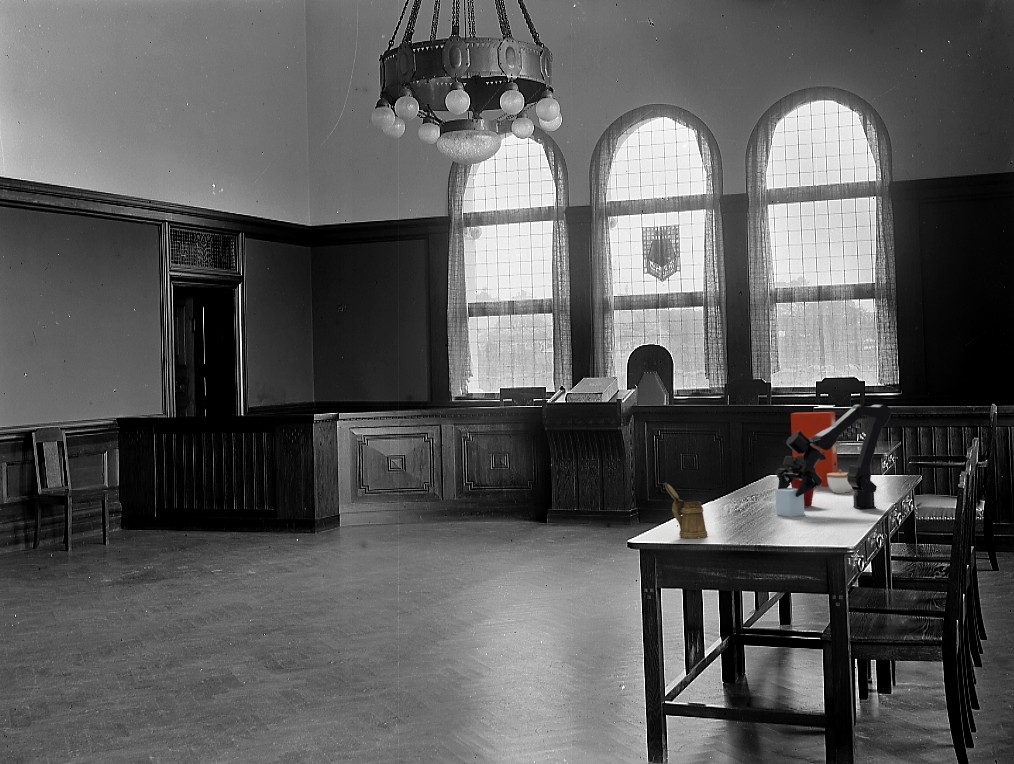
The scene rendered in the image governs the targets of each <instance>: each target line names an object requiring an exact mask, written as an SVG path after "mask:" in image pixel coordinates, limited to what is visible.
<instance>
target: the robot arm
mask: <svg viewBox="0 0 1014 764" xmlns="http://www.w3.org/2000/svg"><path fill="white" fill-rule="evenodd" d="M891 415H892V410H891V408H890V407H889V406H888V405H885V404H873V405H863V404H854V405H853V406H852V407H851V408H850V409H849V410H848V411H847V412H846V413H844V414H843V415H842V416H841V417H840V418H839V419H837V420H835V423H834V424H833V425H832V426H831V427H829V428H828V429H825V430H823V431H821V432H819V433H818V434H816V435H815V436H814V437H813V438H810V439H808V438H806V437H805V436H804V435H803V433H802V432H801V431H797V432H796V433H795V434H793V435H792V434H791V436H789V437H788V438H787V440H786V442H785V444H786V445H787V446H788V447H789V448H790V449H791V450H792V449H793V450H794V451H795V452H796V453H797V454H800V453H801V454H803V453H804V454H803V455H802V456H797V457H793V456H790V455H789V456H788V455H786V456H785V457H784V460H783V462H782V463H783V464H782V465H783V466H787V467H789V469H788V468H787V469H786V468H777V469H776V470H775V472H774V474H775V476H776V477H777V479H778V486H777V489H785V488H790V486H791V482H792V481H793V479H799V480H802V483H801V485H800V487H799V489H798V490H797V492H796V497H799V496H800V495H802V494H804V493H805V492H807V491H809V490H811V489H813V488H814V489H815V488H817V487H821V486H820V485H821V483H822V479H821V478H820V476H819V475H818V474H817V473H816V472H815V470H816V469H815V468H814V467H815V465H816V463H817V462H818V460H820V461H821V460H826V457H825V454H824V453H821V452H820V451H819V450H818V449H821V450H829V449H831V448H832V447H833V445H834V444H835V443H836V444H837V441H838V439H839V438H840V435H842V434H843V433H844V432H845V431H846V430H847V429H849V428H850V427H851V426H852V425H853V424H854V423H856V422H857V421H858V420H859V419H860V418H861V417H862V416H864V417H866V420H867V430H866V433H865V435H864V439H863V441H862V445H861V448H860V452H859V455H858V458H857V461H856V463H855V464H854V465H849V467H848V471H847V472H848V474H847V475H846V476H848V478H847V481H848V483H849V484H850V485H851V487H852V488H851V490H852V491H854V495H852V496H853V508H855V507H856V509H858V508H860V509H859V510H862V509H861V508H868V509H877V508H876V507H877V506H876V505H875V504H876V503H875V493H876V491H877V488H878V486H877V485H876V484H875V483H874V482H873V481H872V480H871V478H872V471H871V470H872V469H871V464H872V461H873V457H874V454H875V452H876V448H877V445H878V441H879V439H880V434H881V432H882V430H883V429H884V427H885V426H886V425H887V424H888V422H889V420H890V418H891ZM811 445H812V446H814V447H815V448H813V447H812V446H811ZM789 470H790V471H791V472H789Z"/></svg>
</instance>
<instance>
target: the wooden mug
mask: <svg viewBox="0 0 1014 764" xmlns="http://www.w3.org/2000/svg"><path fill="white" fill-rule="evenodd" d="M664 487H665V489H666V491H667V492H668V494H669V495H670V496H671V498H672V499H673V500H674V501H673V502H672V507H671V510H672V515H673V516H674V518H675V519H676V521H677V523H678V525H679V529H680V530H679V536H681V537H680V538H682V537H686V538H685V539H690V538H694V539H698V538H697V537H704V538H706V537H705V536H707V535H708V531H707V530H706V529H707V528H706V523H705V518H704V507H703V506H702V502H701V501H689V502H685V501H684V500H682V499H680V497H679V495H678V493H677V491H676V490H675V489H674V488H673V487H672V486H671V485H670V484H669V483H667V482H664ZM680 508H681V509H680ZM679 509H680V512H681V515H680V514H679V512H678V511H679ZM707 537H708V536H707Z"/></svg>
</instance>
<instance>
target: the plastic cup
mask: <svg viewBox="0 0 1014 764" xmlns="http://www.w3.org/2000/svg"><path fill="white" fill-rule="evenodd" d="M801 483H802V480H799V479H793V481H792V482H791V483H790V484H791V485H790V486H791V488H796V489H799V487H800V485H801ZM814 491H815V488H813V489H811V490H809V491H807V492H805V493H804V508H806V507H805V506H810V507H812V504H813V498H814Z"/></svg>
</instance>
